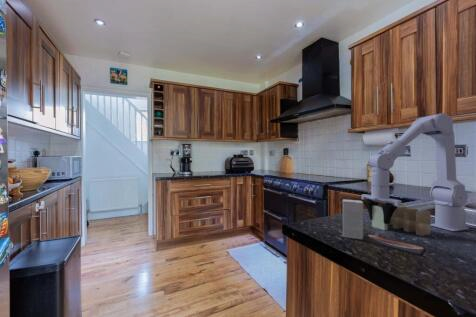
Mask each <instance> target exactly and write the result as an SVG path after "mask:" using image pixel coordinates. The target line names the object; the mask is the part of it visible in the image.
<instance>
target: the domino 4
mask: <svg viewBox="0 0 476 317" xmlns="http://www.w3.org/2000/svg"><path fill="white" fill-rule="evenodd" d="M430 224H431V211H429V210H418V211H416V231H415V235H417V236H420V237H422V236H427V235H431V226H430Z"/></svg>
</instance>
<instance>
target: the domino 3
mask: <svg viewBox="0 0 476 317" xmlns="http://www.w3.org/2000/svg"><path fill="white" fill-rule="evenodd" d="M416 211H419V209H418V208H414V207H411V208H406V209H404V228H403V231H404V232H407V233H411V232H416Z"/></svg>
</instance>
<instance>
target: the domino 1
mask: <svg viewBox="0 0 476 317" xmlns="http://www.w3.org/2000/svg"><path fill="white" fill-rule="evenodd" d="M371 226H372V227H373V228H375V229H379V230H382V231H388V224H384V215H383V209H382V206H380V205H377V206H376V205H374V206H372V220H371Z"/></svg>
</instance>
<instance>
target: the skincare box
mask: <svg viewBox="0 0 476 317" xmlns="http://www.w3.org/2000/svg"><path fill="white" fill-rule="evenodd" d="M342 237H343V238H348V239H354V240H355V239H357V240H362V239H363V237H364V201H362V200H356V199H342Z"/></svg>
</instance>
